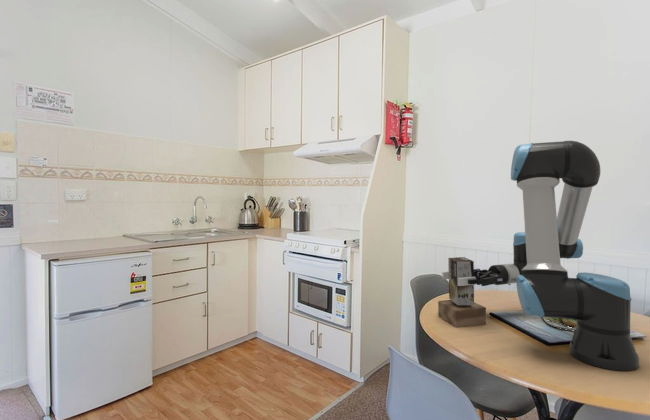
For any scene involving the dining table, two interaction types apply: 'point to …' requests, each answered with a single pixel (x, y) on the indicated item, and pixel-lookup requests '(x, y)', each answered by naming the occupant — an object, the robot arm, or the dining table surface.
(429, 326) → the dining table surface
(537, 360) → the dining table surface
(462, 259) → the coffee box
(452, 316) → the walnut stand
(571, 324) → the salad plate
